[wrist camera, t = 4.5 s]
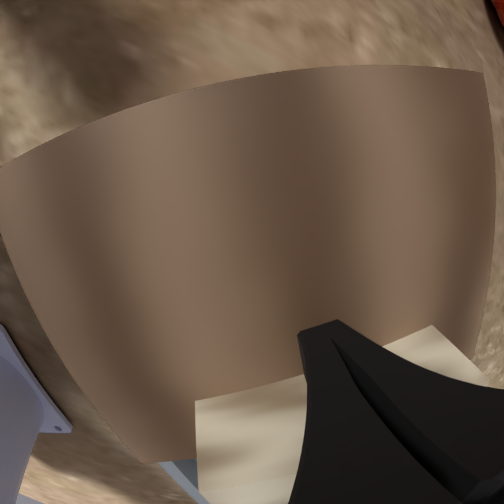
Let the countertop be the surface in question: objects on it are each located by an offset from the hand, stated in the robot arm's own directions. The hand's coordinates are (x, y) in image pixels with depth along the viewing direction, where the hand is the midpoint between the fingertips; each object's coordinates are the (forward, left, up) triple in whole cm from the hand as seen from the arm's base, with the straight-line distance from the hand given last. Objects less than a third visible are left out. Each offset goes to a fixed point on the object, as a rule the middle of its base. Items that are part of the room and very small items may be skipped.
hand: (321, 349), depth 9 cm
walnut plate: (0, +1, -4) cm, 4 cm away
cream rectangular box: (0, -4, -1) cm, 4 cm away
